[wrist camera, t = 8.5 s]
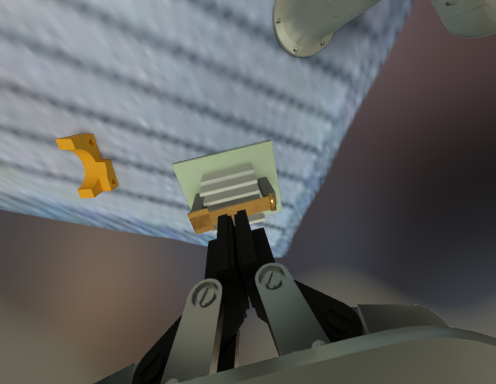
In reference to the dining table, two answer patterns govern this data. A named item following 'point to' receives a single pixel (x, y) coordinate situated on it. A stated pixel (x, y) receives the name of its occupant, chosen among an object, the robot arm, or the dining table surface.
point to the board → (230, 179)
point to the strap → (229, 212)
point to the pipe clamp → (90, 164)
